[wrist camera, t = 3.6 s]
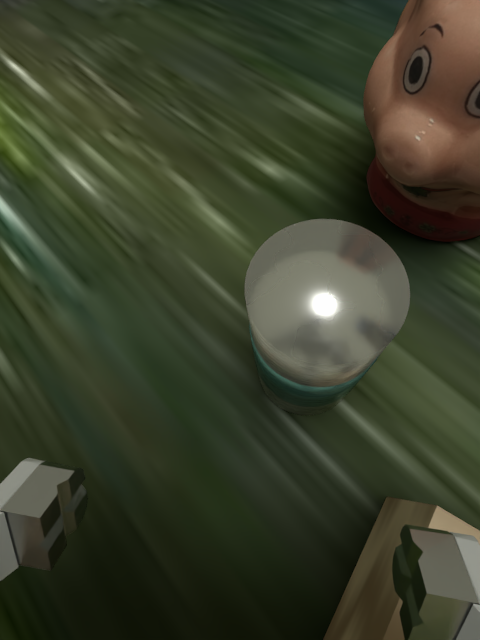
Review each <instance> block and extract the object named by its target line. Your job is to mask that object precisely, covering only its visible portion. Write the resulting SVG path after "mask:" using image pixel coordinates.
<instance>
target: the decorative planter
mask: <svg viewBox="0 0 480 640" xmlns="http://www.w3.org/2000/svg"><path fill="white" fill-rule="evenodd" d="M364 118H365V121H366V125H367V127H368V129H369V131H370V134H371V136H372V138H373V141H374V145H375V149H376V155H375V157H374V159H373V161H372V163H371V164H370V166H369V169H368V172H367V184H368V189H369V193H370V196H371V199H372V201H373V202H374V204H375V205H376V207H377V208H378V209H379V210H380V211H381V212H382V214H383V215H384V216H386V217H387V218H388V219H389V220H390V221H391V222H393V223H394V224H395V225H397V226H398V227H400V228H402V229H404V230H406V231H408V232H410V233H412V234H414V235H417V236H420V237H422V238H426V239H429V240H435V241H445V242H450V241H460V240H466V239H470V238H474V237H477V236H479V235H480V0H409V1H408V3H407V4H406V6H405V8H404V10H403V12H402V14H401V16H400V19H399V21H398V23H397V26H396V29H395V32H394V34H393V37H392V38H391V39H390V40H389V41H388V42H387V43H386V44H385V46H384V47H383V49H382V50H381V51H380V53H379V54H378V56H377V58H376V59H375V61H374V63H373V66H372V68H371V70H370V72H369V75H368V79H367V83H366V87H365V92H364Z"/></svg>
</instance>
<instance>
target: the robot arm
mask: <svg viewBox="0 0 480 640" xmlns="http://www.w3.org/2000/svg"><path fill="white" fill-rule="evenodd" d="M84 480H85V475H84V470H83V469H81V468H77V467H73V466H68V465H63V464H58V463H53V462H48V461H42V460H37V459H32V458H27V459H25V460H23V461H22V462H20V463H19V465H18V466H17V467H16V468H15V469H14V470H13V471H12V472H11V473H10V474H9V475H8V476H7V477H6V479H5V480H4V481H3V482H2V483H1V484H0V581H1V580H2V579H4V578H5V577H6V576H8V575H9V574H10V573H11V572H13V571H14V570H15V569H17V568H18V565H22V566H28V567H33V568H39V569H45V570H50V571H51V570H52V569H53V567H54V565H55V564H56V562H57V561H58V559H59V557H60V556H61V554H62V552H63V551H64V549H65V548H66V546H67V541H66V536H67V535H69V534H70V533H72V532H73V531H75V530H76V529H77V528H78V526H79V525H80V523H81V521H82V519H83V517H84V514H85V511H86V508H87V502H88V495H87V491H86V490H85V488H84V487H83V486H82V485H81V484H82V483H83V481H84ZM400 538H401V542H402V544H401V545H399V546H397V547H396V548H395V552H394V555H393V563H392V574H393V583H394V588H395V592H396V593H397V595H398V596H399V597H400V599H401V600H402V601H403V603H402V606H401V609H400V612H399V614H400V619H401V624H402V629H403V634H404V639H405V640H480V545H479V543H478V540H477V539H476V538H475V537H474V536H472V535H466V534H460V533H454V532H448V531H444V530H438V529H432V528H426V527H420V526H413V525H407V524H405V525H404V526H403V527H402V530H401V533H400Z"/></svg>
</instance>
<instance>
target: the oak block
mask: <svg viewBox="0 0 480 640" xmlns="http://www.w3.org/2000/svg"><path fill="white" fill-rule="evenodd" d="M405 524H407V525H413V526H420V527H426V528H432V529H438V530H444V531H448V532H454V533H460V534H466V535H472V536H474V537H475V538H476V539H477V540H478V543H479V545H480V531H479V530H477V529H476V528H474V527H472V526H471V525H469V524H467V523H466V522H464V521H462V520H461V519H459V518H457V517H455V516H454V515H452V514H450V513H449V512H447V511H445V510H444V509H442V508H440V507H439V506H436V505H431V504H425V503H420V502H414V501H408V500H403V499H397V498H392V497H386V499H385V502H384V504H383V506H382V508H381V510H380V513H379V515H378V517H377V519H376V522H375V524H374V526H373V528H372V531H371V533H370V535H369V537H368V540H367V542H366V544H365V546H364V549H363V551H362V553H361V555H360V558H359V560H358V562H357V564H356V567H355V569H354V571H353V573H352V576H351V578H350V580H349V582H348V585H347V587H346V589H345V591H344V594H343V596H342V598H341V600H340V603H339V605H338V607H337V609H336V612H335V614H334V616H333V618H332V621H331V623H330V625H329V627H328V630H327V632H326V634H325V636H324V639H323V640H405V639H404V634H403V629H402V624H401V619H400V614H399V612H400V609H401V606H402V603H403V601H402V600H401V599H400V597H399V596H398V595H397V593H396V592H395V588H394V583H393V574H392V563H393V555H394V552H395V548H396V547H397V546H399V545H401V544H402V542H401V538H400V533H401V530H402V527H403V526H404V525H405Z"/></svg>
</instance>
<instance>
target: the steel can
mask: <svg viewBox="0 0 480 640" xmlns="http://www.w3.org/2000/svg"><path fill="white" fill-rule="evenodd" d="M245 300H246V306H247V311H248V317H249V328H250V335H251V341H252V346H253V352H254V357H255V362H256V367H257V370H258V374H259V379H260V383H261V386H262V388H263V390H264V392H265V393H266V395H267V396H268V397H269V398H270V400H271V401H272V402H273V403H275V404H276V405H277V406H278V407H280V408H281V409H283V410H285V411H287V412H290V413H293V414H297V415H305V416H307V415H316V414H320V413H323V412H326V411H328V410H330V409H331V408H333V407H334V406H336V405H337V404H338V403H339V402H340V401H341V400H342V399H343V397H344V396H345V395H346V394H347V393H349V392H350V391H351V390H352V388H353V387H354V386H355V385H356V384H357V383H358V381H359V380H360V379H361V378H362V377H363V376H364V374H365V373H366V372H367V371H368V370H369V369H370V367H371V366H372V365H373V364H374V363H375V361H376V360H377V358H378V356H379V355H380V353H381V352H382V351H383V350H384V349H385V348H386V346H387V345H388V344H389V343H390V342H391V340H392V339H393V338H394V337H395V336H396V334H397V333H398V332H399V330H400V328H401V327H402V325H403V323H404V321H405V318H406V316H407V313H408V308H409V303H410V286H409V281H408V277H407V274H406V271H405V268H404V266H403V264H402V262H401V261H400V259H399V257H398V256H397V254H396V253H395V252H394V250H393V249H392V248H391V247H390V246H389V245H388V244H387V243H386V242H385V241H384V240H382V239H381V238H380V237H379V236H377V235H376V234H374V233H373V232H371V231H369V230H367V229H365V228H363V227H361V226H359V225H356V224H353V223H350V222H346V221H341V220H334V219H315V220H308V221H303V222H299V223H296V224H293V225H290V226H288V227H286V228H284V229H282V230H280V231H279V232H277V233H275V234H274V235H273V236H271V237H270V238H269V239H268V240H267V241H266V242H265V243H264V244H263V245H262V246H261V247H260V248H259V249H258V251H257V252H256V253H255V255H254V257H253V259H252V260H251V262H250V265H249V267H248V270H247V274H246V278H245Z"/></svg>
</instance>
